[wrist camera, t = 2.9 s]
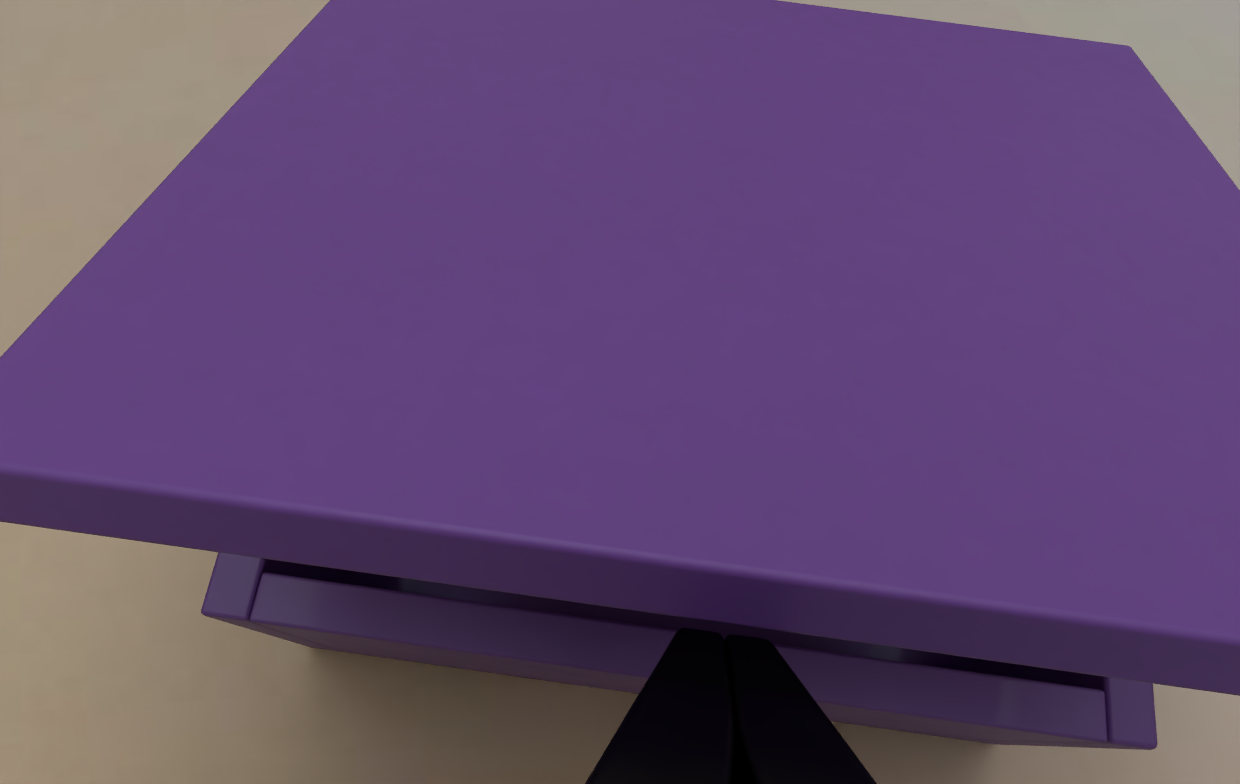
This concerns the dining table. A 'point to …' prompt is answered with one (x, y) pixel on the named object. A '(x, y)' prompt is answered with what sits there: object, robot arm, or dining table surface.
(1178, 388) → the lid
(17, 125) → the dining table surface
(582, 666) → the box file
